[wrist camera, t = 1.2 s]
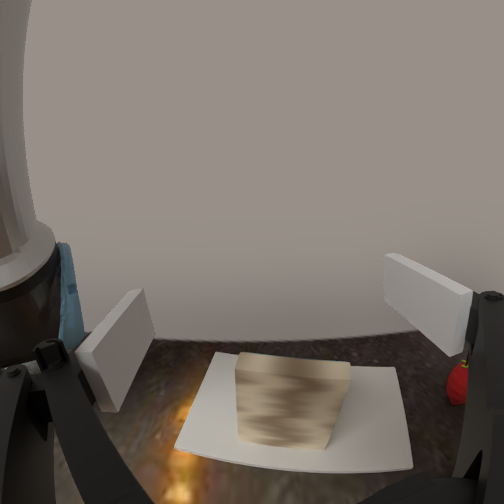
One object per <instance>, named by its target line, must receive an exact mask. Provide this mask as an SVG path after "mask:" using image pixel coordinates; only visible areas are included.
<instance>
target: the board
mask: <svg viewBox="0 0 504 504" xmlns="http://www.w3.org/2000/svg"><path fill="white" fill-rule="evenodd" d="M350 382H351V369H350V362H344V361H327V360H314V359H302V358H292V357H282V356H273V355H264V354H256V353H249V352H240V354H239V357H238V360H237V363H236V366H235V386H236V406H237V425H238V441H241V442H247V443H253V444H260V445H267V446H276V447H285V448H295V449H308V450H325V448H326V445H327V443H328V441H329V438H330V436H331V433H332V431H333V428H334V426H335V423H336V421H337V418H338V416H339V413H340V410H341V408H342V405H343V402H344V400H345V397H346V394H347V391H348V388H349V385H350Z"/></svg>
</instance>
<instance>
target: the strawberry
mask: <svg viewBox="0 0 504 504" xmlns="http://www.w3.org/2000/svg"><path fill="white" fill-rule="evenodd" d="M462 361H463V362H462V363H460V364H458V365H457V366H456V367H455V368H454V369H453V370H452V371H451V373H450V374H449V377H448V381H447V386H446V389H447V394H448V398H449V400H450V403H451V404H452V405H453V406H456V405H459V404H465V403H466V394H467V380H468V365H467V366H465V363H466V361H465V360H462Z"/></svg>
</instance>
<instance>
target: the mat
mask: <svg viewBox="0 0 504 504" xmlns="http://www.w3.org/2000/svg"><path fill="white" fill-rule="evenodd" d="M238 357H239V355H233V354H227V353H220V352H215V354H214V357H213V359H212V361H211V364H210V366H209V368H208V370H207V373H206V375H205V377H204V380H203V382H202V384H201V386H200V389H199V391H198V393H197V396H196V398H195V400H194V402H193V405H192V407H191V409H190V411H189V414H188V416H187V418H186V421H185V423H184V425H183V427H182V430H181V432H180V434H179V436H178V439H177V441H176V443H175V445H174V448H175V449H176V450H180V451H183V452H187V453H191V454H195V455H199V456H203V457H207V458H212V459H216V460H221V461H226V462H231V463H236V464H242V465H248V466H254V467H261V468H269V469H277V470H287V471H298V472H314V473H374V472H389V471H400V470H409V469H412V468H413V461H412V454H411V447H410V440H409V434H408V428H407V422H406V417H405V411H404V406H403V401H402V396H401V392H400V387H399V383H398V378H397V374H396V370H395V367H362V366H350V369H351V382H350V385H349V388H348V391H347V394H346V397H345V400H344V402H343V405H342V408H341V410H340V413H339V416H338V418H337V421H336V423H335V426H334V428H333V431H332V433H331V436H330V438H329V441H328V443H327V445H326V448H325V450H308V449H295V448H285V447H276V446H267V445H260V444H253V443H247V442H241V441H238V425H237V406H236V386H235V366H236V363H237V360H238Z"/></svg>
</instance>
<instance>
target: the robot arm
mask: <svg viewBox="0 0 504 504" xmlns="http://www.w3.org/2000/svg"><path fill="white" fill-rule="evenodd" d="M31 1H32V0H0V504H56V499H55V486H54V457H53V449H54V426H55V429H56V432H57V436H58V439H59V442H60V445H61V448H62V450H63V453H64V456H65V459H66V461H67V464H68V467H69V469H70V472H71V474H72V477H73V479H74V481H75V484H76V486H77V488H78V490H79V493H80V495H81V497H82V499H83V501H84V503H85V504H155V503H154V502H153V500H152V499H151V498H150V497H149V495H148V494H147V493H146V491H145V490H144V489H143V487H142V486H141V485H140V483H139V482H138V481H137V479H136V478H135V476H134V475H133V474H132V472H131V471H130V469H129V468H128V466H127V465H126V463H125V462H124V460H123V459H122V457H121V456H120V454H119V453H118V451H117V449H116V448H115V446H114V445H113V443H112V441H111V440H110V438H109V436H108V435H107V433H106V431H105V429H104V428H103V426H102V424H101V422H100V420H99V419H98V417H97V415H96V413H95V411H94V409H93V407H92V406H93V404H94V402H95V401H96V402H97V404H98V406H99V407H100V409H101V411H102V412H119V410H120V407H121V405H122V403H123V401H124V399H125V396H126V394H127V392H128V390H129V388H130V386H131V384H132V381H133V379H134V377H135V375H136V373H137V371H138V369H139V367H140V365H141V363H142V360H143V358H144V356H145V354H146V352H147V350H148V348H149V346H150V344H151V342H152V340H153V338H154V336H155V331H154V328H153V324H152V321H151V317H150V313H149V309H148V305H147V302H146V298H145V293H144V289H143V288H142V289H134V290H130V291H129V292H128V293H127V294H126V295H125V296H124V297H123V299H122V300H121V301H120V302H119V303H118V304H117V305H116V306H115V307H114V308H113V309H112V311H110V313H109V314H108V315H107V316H106V317H105V318H104V319H103V320H102V321H101V323H100V324H99V325H98V326H97V327H96V328H95V329H94V330H93V331H92V332H90V333H89V334H87V335H86V336H85V337H84V324H83V319H82V312H81V306H80V301H79V296H78V291H77V285H76V280H75V279H76V278H75V271H74V266H73V259H72V254H71V249H70V246H69V245H68V244H67V243H60V242H58V243H57V244H56V241H55V237H54V234H53V232H52V230H51V228H50V227H48V226H47V225H45V224H43V223H41V222H39V221H37V220H36V215H35V211H34V206H33V200H32V195H31V190H30V183H29V176H28V169H27V162H26V153H25V141H24V127H23V64H24V50H25V41H26V32H27V25H28V18H29V12H30V6H31ZM384 301H385V302H386V303H388V304H389V305H390V306H391V307H392V308H393V309H395V310H396V311H397V312H398V313H399V314H401V315H402V316H403V317H404V318H405V319H406V320H408V321H409V322H410V323H411V324H412V325H413V326H415V327H416V328H417V329H418V330H419V331H420V332H422V333H423V334H424V335H425V336H426V337H427V338H428V339H430V340H431V341H432V342H433V343H434V344H435V345H436V346H438V347H439V348H440V349H441V350H442V351H443V352H444V353H445V354H447V355H448V356H449V357H451V356H453V355H456V354H458V353H461V352H462V351H463V347H464V342H465V339H466V340H468V341H469V342H470V347H469V352H468V356H467V360H466V363H465V366H467V365H468V380H467V394H466V404H465V413H464V420H463V427H462V434H461V440H460V445H459V450H458V455H457V460H456V464H455V469H454V473H453V476H452V477H445V478H437V479H431V478H430V477H429V475H428V473H427V472H426V470H425V471H423V472H421V473H419V474H417V475H414V476H412V477H409V478H407V479H405V480H402V481H400V482H397V483H394V484H392V485H389V486H387V487H385V488H384V489H382V490H380V491H379V492H377V493H375V494H374V495H372V496H370V497H368V498H367V499H365V500H363V501H361V502H359V503H357V504H504V295H503V294H501V293H498V292H495V291H485V292H482V293H481V294H477V293H476V292H474V291H472V290H470V289H468V288H466V287H465V286H463V285H461V284H459V283H457V282H455V281H453V280H451V279H449V278H447V277H445V276H443V275H441V274H439V273H437V272H435V271H433V270H431V269H429V268H427V267H425V266H423V265H421V264H419V263H416V262H414V261H412V260H410V259H408V258H406V257H404V256H402V255H400V254H398V253H390V254H385V255H384ZM75 346H76V347H75ZM73 347H75V348H74V349H73V350H72V351H71V352H70V354H69V355H68V353H67V351H66V350H68V349H70V348H73ZM34 360H36V361H37V363H38V365H39V368H40V370H41V373H40V374H33V375H30V374H29V372H28V369H27V367H26V366H25V365H22V363H26V362H30V361H34ZM18 364H19V365H18ZM6 367H8V368H7V369H6V370H5V369H4V368H6Z"/></svg>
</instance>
